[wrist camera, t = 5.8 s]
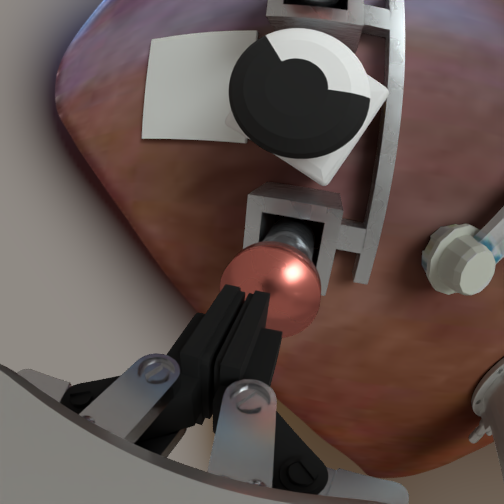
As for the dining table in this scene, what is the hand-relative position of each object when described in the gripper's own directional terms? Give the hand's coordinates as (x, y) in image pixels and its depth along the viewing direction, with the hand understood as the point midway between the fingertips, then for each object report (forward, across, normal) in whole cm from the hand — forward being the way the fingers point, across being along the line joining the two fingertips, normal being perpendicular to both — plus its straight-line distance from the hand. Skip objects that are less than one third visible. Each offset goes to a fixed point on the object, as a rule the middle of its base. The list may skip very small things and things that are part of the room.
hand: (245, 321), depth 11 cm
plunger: (+10, -1, 0) cm, 10 cm away
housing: (+15, -3, -9) cm, 17 cm away
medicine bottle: (+15, -1, -9) cm, 18 cm away
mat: (+15, +9, -11) cm, 21 cm away
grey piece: (+15, -21, -7) cm, 27 cm away
